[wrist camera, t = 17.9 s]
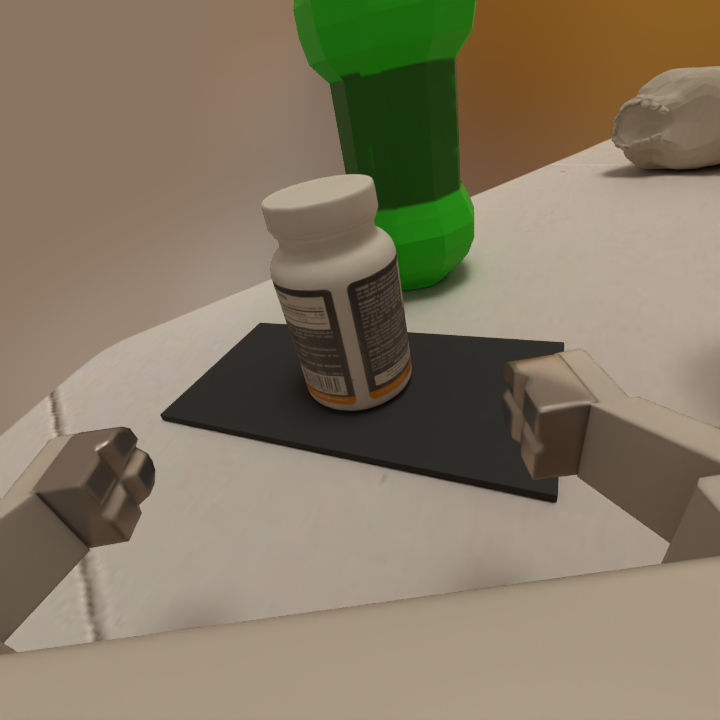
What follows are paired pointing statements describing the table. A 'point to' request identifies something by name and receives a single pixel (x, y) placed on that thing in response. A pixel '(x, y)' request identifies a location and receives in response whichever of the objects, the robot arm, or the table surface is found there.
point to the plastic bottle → (399, 117)
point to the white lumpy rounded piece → (672, 121)
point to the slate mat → (378, 408)
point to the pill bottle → (340, 291)
